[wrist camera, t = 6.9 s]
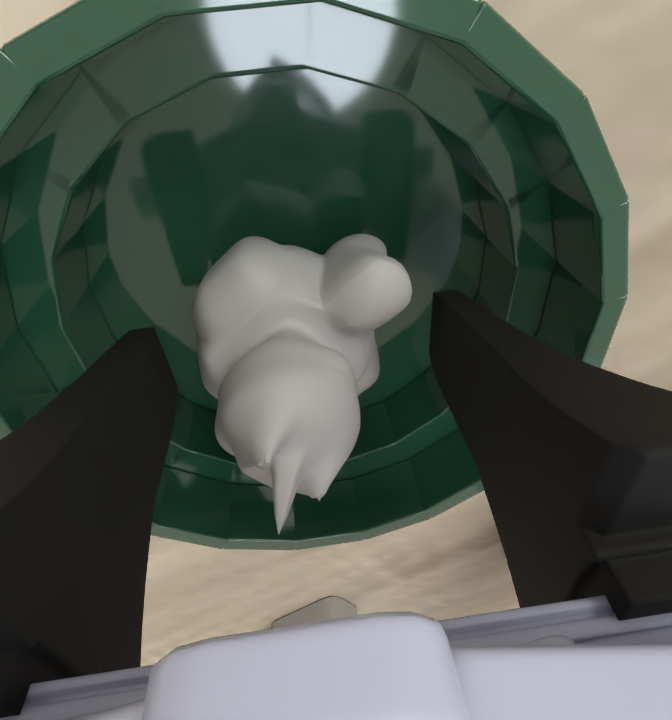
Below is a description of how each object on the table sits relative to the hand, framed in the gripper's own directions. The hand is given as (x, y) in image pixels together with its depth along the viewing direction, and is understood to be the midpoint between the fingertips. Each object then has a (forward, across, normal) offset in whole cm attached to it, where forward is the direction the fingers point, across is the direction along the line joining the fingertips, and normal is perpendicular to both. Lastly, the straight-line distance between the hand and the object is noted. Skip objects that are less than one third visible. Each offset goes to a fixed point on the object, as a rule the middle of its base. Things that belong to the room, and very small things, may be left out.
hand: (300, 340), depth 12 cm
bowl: (+3, 0, 0) cm, 3 cm away
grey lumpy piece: (+3, 0, 0) cm, 3 cm away
